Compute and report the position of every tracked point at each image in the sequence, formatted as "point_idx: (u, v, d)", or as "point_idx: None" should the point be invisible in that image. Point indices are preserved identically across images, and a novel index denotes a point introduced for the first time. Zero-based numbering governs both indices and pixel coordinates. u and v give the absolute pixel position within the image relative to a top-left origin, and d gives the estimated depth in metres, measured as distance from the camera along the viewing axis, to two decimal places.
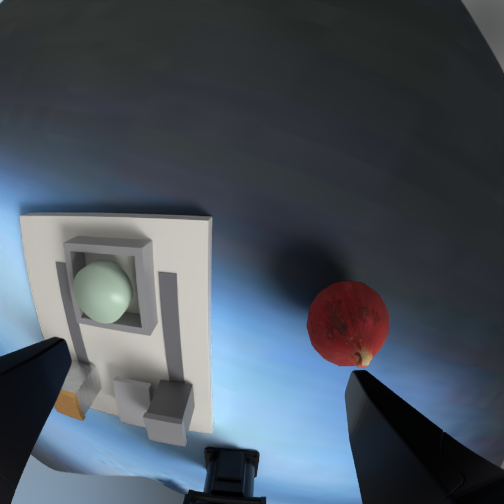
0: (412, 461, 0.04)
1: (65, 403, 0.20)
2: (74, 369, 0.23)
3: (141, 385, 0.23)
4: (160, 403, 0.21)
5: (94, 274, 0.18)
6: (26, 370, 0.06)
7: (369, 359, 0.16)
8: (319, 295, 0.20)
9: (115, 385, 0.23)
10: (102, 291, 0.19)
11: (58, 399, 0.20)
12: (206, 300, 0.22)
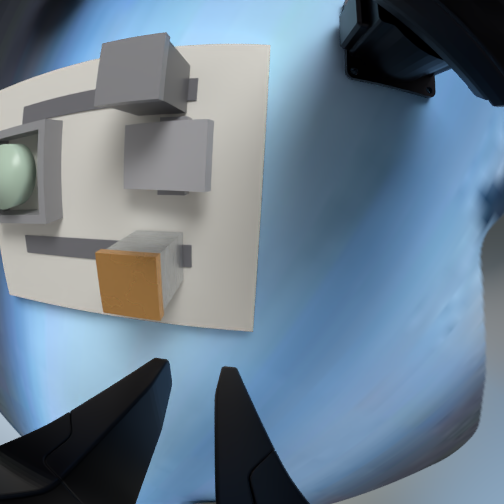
0: (215, 471, 0.04)
1: (121, 282, 0.13)
2: None
3: (127, 137, 0.15)
4: None
5: None
6: (140, 406, 0.06)
7: None
8: None
9: (131, 184, 0.15)
10: None
11: (117, 295, 0.13)
12: (45, 74, 0.14)
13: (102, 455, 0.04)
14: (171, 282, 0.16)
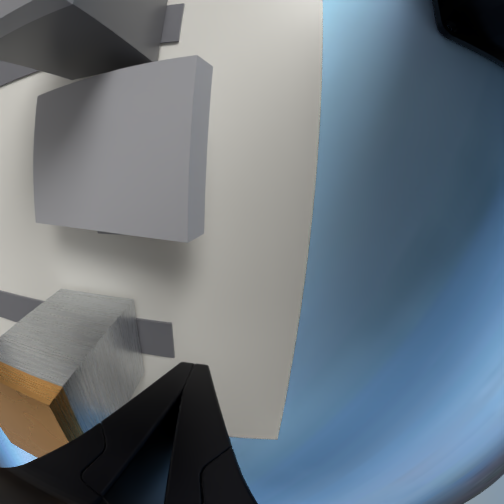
0: None
1: (14, 419, 0.04)
2: None
3: (40, 120, 0.06)
4: None
5: None
6: (173, 412, 0.06)
7: None
8: None
9: (45, 215, 0.07)
10: None
11: (18, 432, 0.05)
12: None
13: (139, 466, 0.04)
14: (113, 402, 0.07)
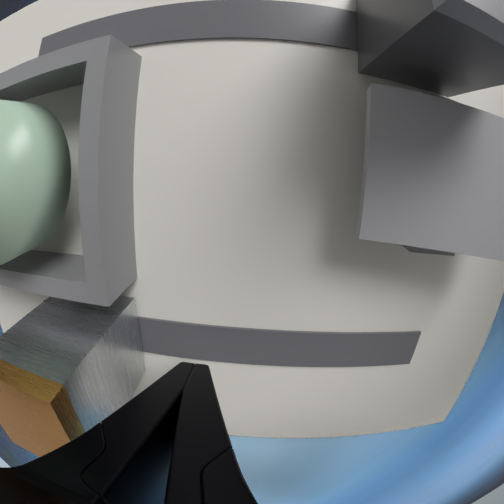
0: None
1: (15, 417, 0.05)
2: None
3: (369, 114, 0.06)
4: (399, 2, 0.04)
5: None
6: (173, 412, 0.06)
7: None
8: None
9: (383, 232, 0.06)
10: None
11: (19, 431, 0.05)
12: None
13: (139, 466, 0.04)
14: (114, 400, 0.07)
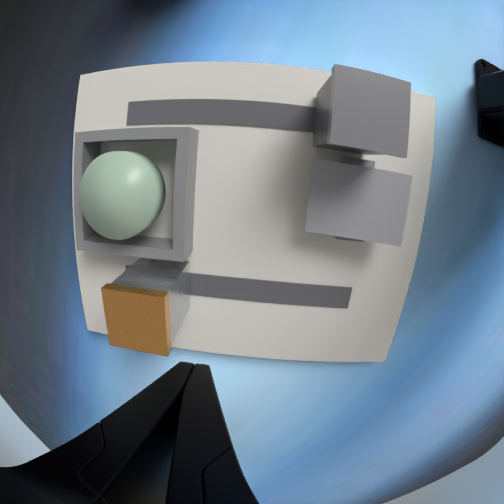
0: None
1: (128, 318, 0.13)
2: None
3: None
4: (324, 125, 0.12)
5: (87, 195, 0.13)
6: (171, 412, 0.06)
7: None
8: None
9: (316, 228, 0.15)
10: (107, 185, 0.13)
11: (124, 329, 0.13)
12: (164, 65, 0.14)
13: (138, 465, 0.04)
14: (178, 314, 0.15)
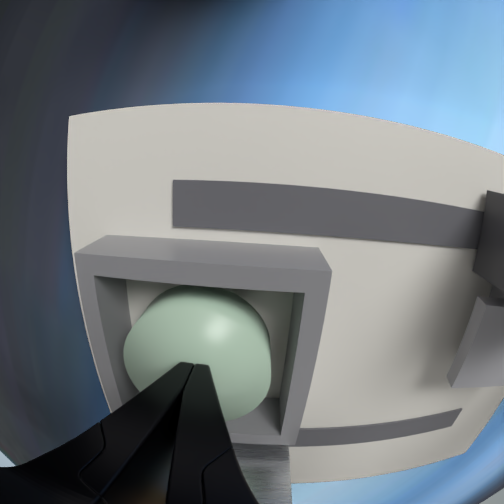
0: None
1: None
2: None
3: (477, 321, 0.08)
4: None
5: (140, 366, 0.08)
6: (172, 412, 0.06)
7: None
8: None
9: (464, 383, 0.08)
10: (178, 358, 0.08)
11: None
12: (244, 106, 0.08)
13: (138, 466, 0.04)
14: None
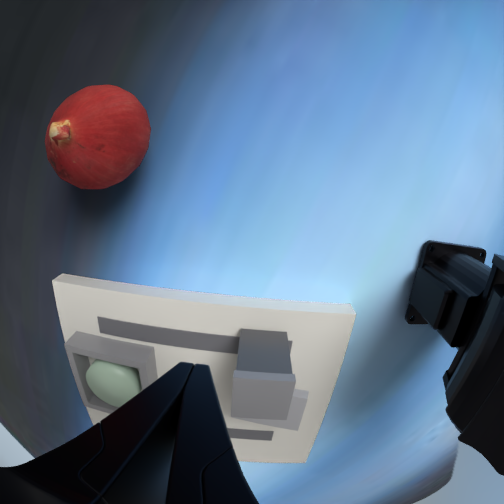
0: None
1: None
2: None
3: None
4: None
5: (92, 382, 0.19)
6: (172, 412, 0.06)
7: (51, 126, 0.09)
8: None
9: None
10: (104, 381, 0.19)
11: None
12: (117, 292, 0.19)
13: (138, 466, 0.04)
14: None
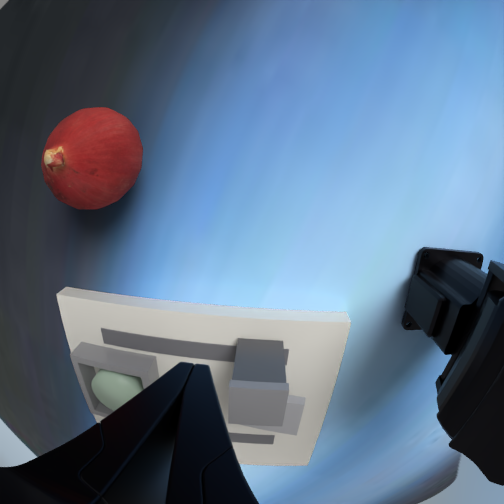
0: None
1: None
2: None
3: None
4: None
5: (97, 391, 0.20)
6: (172, 412, 0.06)
7: (45, 154, 0.10)
8: None
9: None
10: (109, 389, 0.20)
11: None
12: (119, 305, 0.19)
13: (138, 466, 0.04)
14: None
